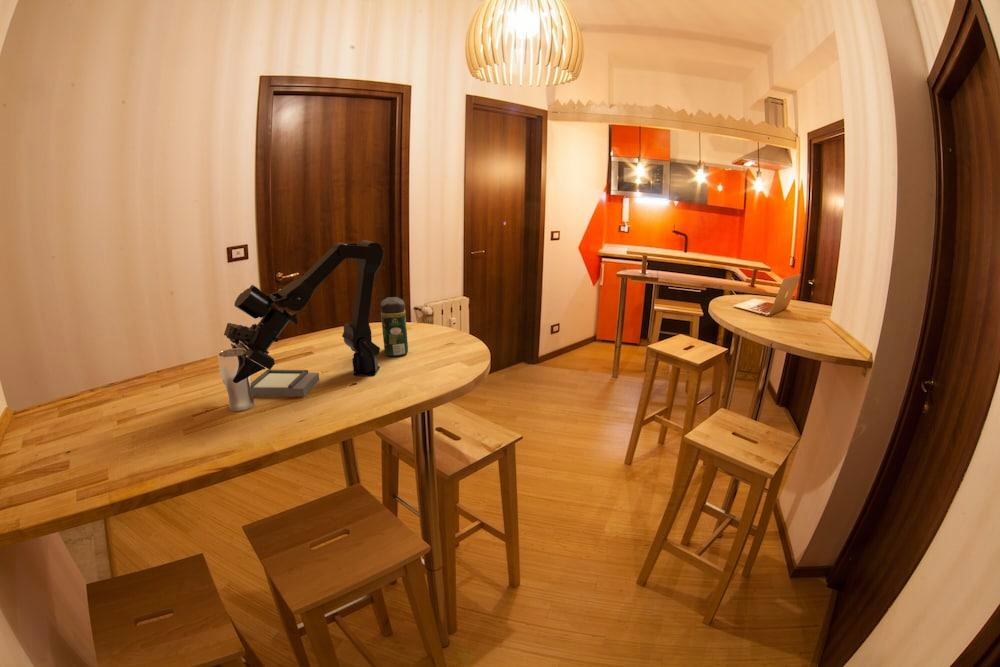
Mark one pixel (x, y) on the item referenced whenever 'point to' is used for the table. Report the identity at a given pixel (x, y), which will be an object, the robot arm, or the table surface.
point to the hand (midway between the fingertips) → (230, 378)
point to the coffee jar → (394, 326)
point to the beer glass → (228, 369)
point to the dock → (284, 383)
